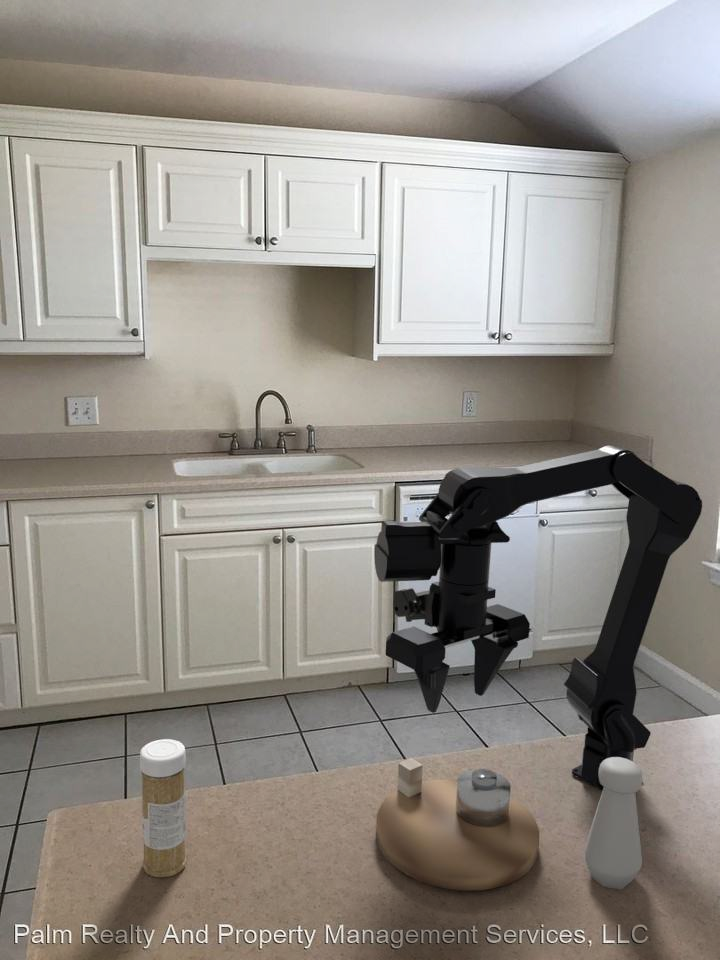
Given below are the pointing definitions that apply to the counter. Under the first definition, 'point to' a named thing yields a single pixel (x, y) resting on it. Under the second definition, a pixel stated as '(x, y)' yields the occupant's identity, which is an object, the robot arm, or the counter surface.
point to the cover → (483, 798)
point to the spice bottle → (163, 807)
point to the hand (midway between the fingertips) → (455, 702)
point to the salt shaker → (615, 826)
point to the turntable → (451, 836)
